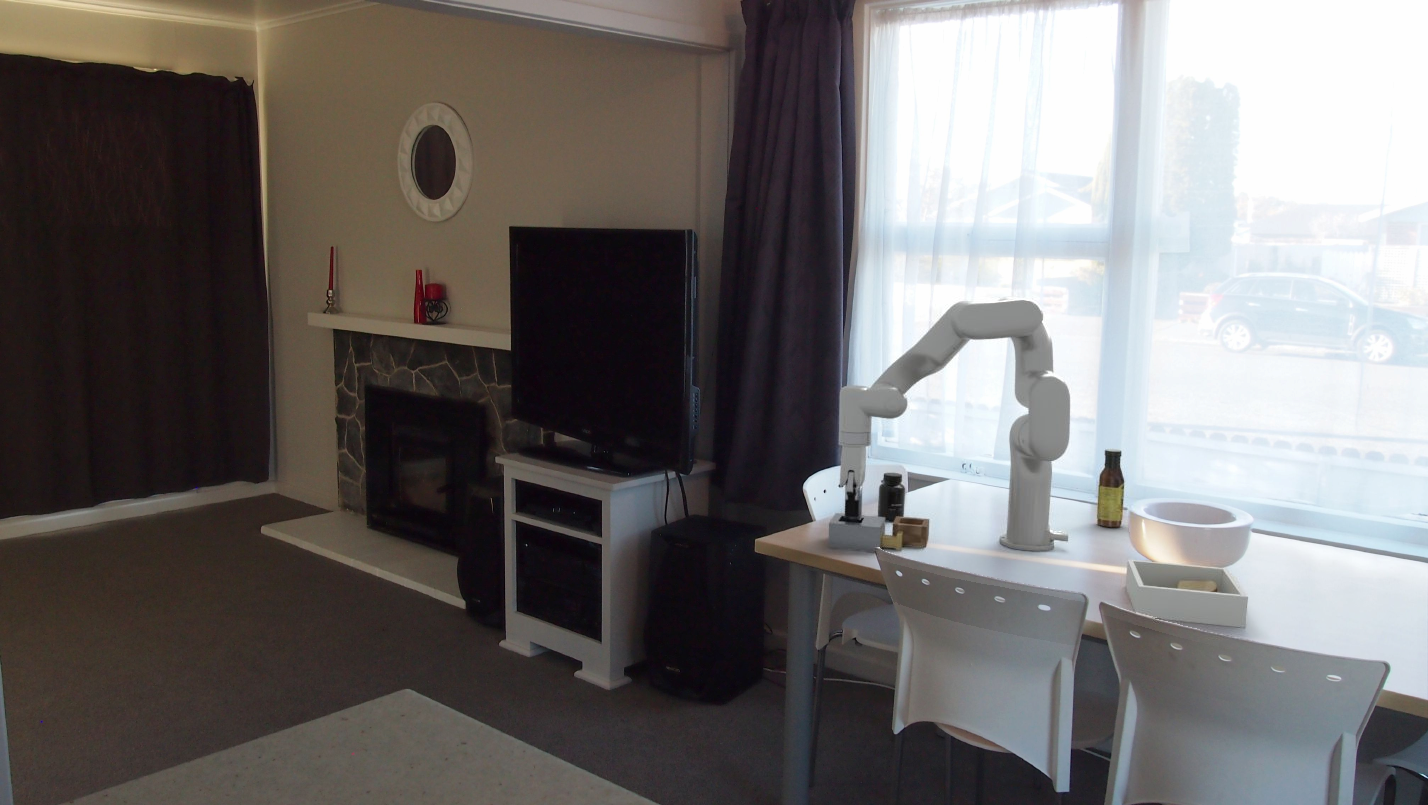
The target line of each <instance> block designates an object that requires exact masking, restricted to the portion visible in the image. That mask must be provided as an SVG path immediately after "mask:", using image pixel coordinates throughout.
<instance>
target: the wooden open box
mask: <svg viewBox="0 0 1428 805" xmlns="http://www.w3.org/2000/svg"><path fill="white" fill-rule="evenodd" d="M898 531H902V532H903V547H904V546H905V547H914V548H915V547H916V548H925V549H926V548H927V546H928V542H929V537H930V536H929V535H930V532H929V531H930V518H923V517H922V518H920V517H909V516H904V517H899V516H896V518H895V520H894V522H893V523H892V533H891V535H893V536H897V533H898Z"/></svg>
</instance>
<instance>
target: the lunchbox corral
mask: <svg viewBox="0 0 1428 805" xmlns="http://www.w3.org/2000/svg"><path fill="white" fill-rule="evenodd" d="M1179 581H1213V582H1215V583H1216V584H1217V592H1207V591H1196V590H1186V589H1177V586H1178V582H1179ZM1156 586H1158V587H1156ZM1125 590H1126V593H1127V595H1128V598H1129V600H1130V603H1131V606H1132V608H1133V611H1134V612H1135V611H1136V612H1138V613H1141V614H1145V615H1149V616H1153V617H1157V618H1161V619H1160V620H1166V621H1173V622H1174V621H1175V622H1176V621H1177V622H1184V623H1196V624H1203V625H1205V624H1206V625H1212V626H1213V625H1216V626H1224V627H1233V628H1243V629H1245V628H1246V624H1247V622H1246V621H1247V613H1248V612H1247V611H1248V602H1249V601H1248V600H1249V595H1247V593H1246V592H1245V590H1244V589H1243V587H1241V585H1240V584H1239V583H1238V581H1237V580H1236V579H1235V577H1234V576H1233V574H1232V573H1231V571H1230V570H1229V568H1226V567H1217V566H1205V565H1204V566H1203V565H1193V564H1183V563H1173V562H1160V561H1150V560H1141V559H1140V560H1137V559H1127V564H1126V576H1125Z"/></svg>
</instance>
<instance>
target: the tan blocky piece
mask: <svg viewBox="0 0 1428 805" xmlns="http://www.w3.org/2000/svg"><path fill="white" fill-rule="evenodd" d="M903 547H904V546H903V532H902V531H898V533H897V536H893V535H892V534H891V535H890V534H885V535H882V541H881V548H887V549H895V551H902V549H903Z"/></svg>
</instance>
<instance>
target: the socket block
mask: <svg viewBox="0 0 1428 805" xmlns="http://www.w3.org/2000/svg"><path fill="white" fill-rule="evenodd" d="M882 535H886V521H885V517H878V516H875V515H865V514H864V515H863V514H862V523H852V522H845V513H838V512H835V514H834V516H833V517H832V518H831V519H830V521H829V522H828V540H827V541H828V546H827V547H828V548H829V549H838V550H847V551H849V550H850V551H857V552H858V551H860V552H870V553H876V552H875V547H880V548H881V549H882V547H881V541H882Z"/></svg>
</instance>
